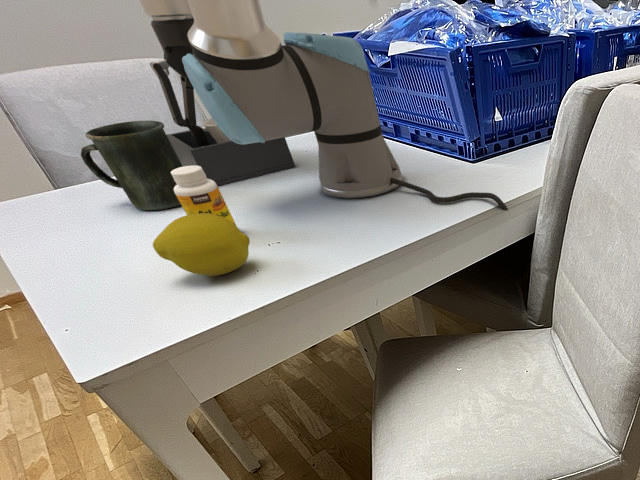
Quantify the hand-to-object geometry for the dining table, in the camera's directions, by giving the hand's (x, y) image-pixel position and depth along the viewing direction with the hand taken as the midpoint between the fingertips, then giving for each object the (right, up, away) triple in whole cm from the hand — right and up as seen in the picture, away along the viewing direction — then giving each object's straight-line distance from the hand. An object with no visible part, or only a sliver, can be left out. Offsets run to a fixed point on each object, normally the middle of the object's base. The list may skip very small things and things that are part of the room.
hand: (235, 157), depth 95 cm
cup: (0, 0, +1) cm, 1 cm away
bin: (0, -2, +1) cm, 2 cm away
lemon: (+20, -34, -32) cm, 51 cm away
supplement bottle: (+14, -26, -24) cm, 38 cm away
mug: (-6, -15, -12) cm, 20 cm away
